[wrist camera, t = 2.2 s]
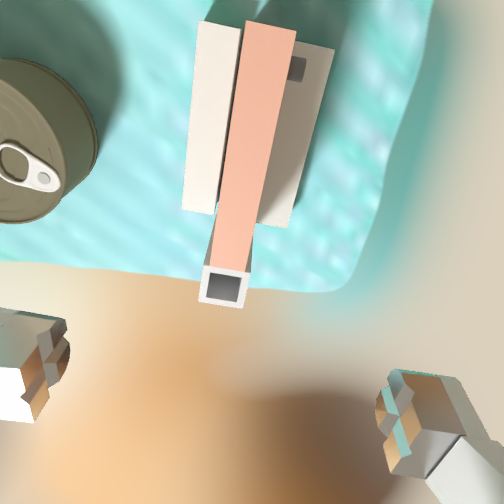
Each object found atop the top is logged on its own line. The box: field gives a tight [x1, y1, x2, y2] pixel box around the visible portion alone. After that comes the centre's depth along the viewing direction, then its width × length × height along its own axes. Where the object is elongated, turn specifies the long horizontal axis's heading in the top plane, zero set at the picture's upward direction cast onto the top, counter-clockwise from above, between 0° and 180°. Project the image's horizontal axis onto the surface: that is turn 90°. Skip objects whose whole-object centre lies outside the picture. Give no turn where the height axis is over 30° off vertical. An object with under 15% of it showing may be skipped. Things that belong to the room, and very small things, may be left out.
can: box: [0, 58, 98, 224], centre depth 30 cm, size 12×12×7 cm
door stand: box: [182, 20, 335, 228], centre depth 31 cm, size 10×15×2 cm, turn 169°
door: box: [198, 20, 307, 309], centre depth 27 cm, size 4×17×13 cm, turn 170°
